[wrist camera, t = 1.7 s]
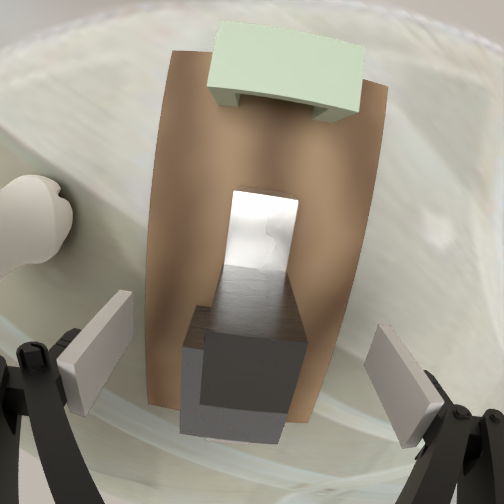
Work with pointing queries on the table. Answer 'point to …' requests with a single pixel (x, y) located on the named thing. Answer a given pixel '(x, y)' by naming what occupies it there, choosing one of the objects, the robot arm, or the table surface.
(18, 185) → the water bottle
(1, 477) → the robot arm
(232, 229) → the rod
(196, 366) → the sleeve
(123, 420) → the table surface
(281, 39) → the socket block
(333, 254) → the base board
